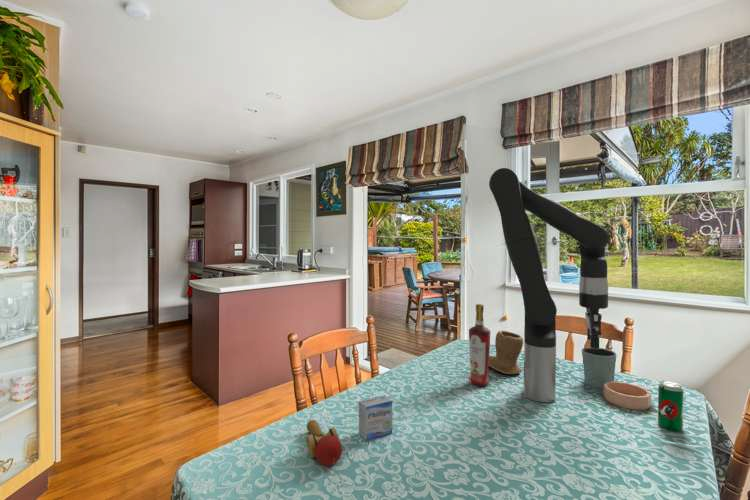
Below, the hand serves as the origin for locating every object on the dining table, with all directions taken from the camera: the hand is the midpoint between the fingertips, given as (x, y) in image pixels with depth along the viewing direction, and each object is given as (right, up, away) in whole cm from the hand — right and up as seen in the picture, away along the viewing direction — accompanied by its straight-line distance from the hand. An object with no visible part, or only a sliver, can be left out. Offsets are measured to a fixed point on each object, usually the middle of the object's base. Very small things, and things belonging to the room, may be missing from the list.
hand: (593, 343), depth 107 cm
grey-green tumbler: (+11, -19, +14) cm, 26 cm away
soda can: (+12, -19, -14) cm, 26 cm away
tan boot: (-17, -18, +30) cm, 39 cm away
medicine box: (-67, -19, -16) cm, 72 cm away
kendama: (-80, -20, -23) cm, 86 cm away
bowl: (+11, -18, +1) cm, 21 cm away
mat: (+11, -19, +1) cm, 22 cm away
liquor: (-30, -19, +16) cm, 39 cm away
